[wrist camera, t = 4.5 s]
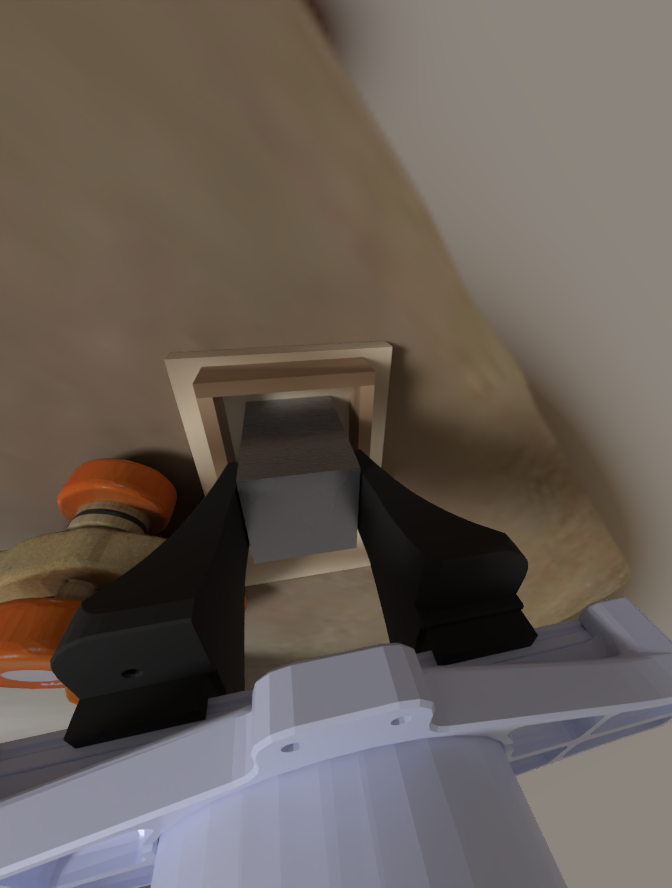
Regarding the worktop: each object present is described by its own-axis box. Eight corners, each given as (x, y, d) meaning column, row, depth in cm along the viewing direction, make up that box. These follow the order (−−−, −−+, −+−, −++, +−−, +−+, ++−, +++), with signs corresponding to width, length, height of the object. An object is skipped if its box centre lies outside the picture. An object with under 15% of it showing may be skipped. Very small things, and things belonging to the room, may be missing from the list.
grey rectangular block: (330, 461, 18) (356, 547, 13) (257, 470, 17) (254, 563, 12) (330, 395, 15) (360, 467, 10) (245, 401, 15) (235, 482, 10)
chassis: (368, 554, 24) (380, 589, 22) (233, 575, 23) (229, 616, 20) (385, 341, 16) (408, 359, 13) (169, 352, 14) (149, 376, 12)
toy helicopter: (140, 433, 14) (293, 551, 23) (-122, 552, 19) (90, 610, 28) (31, 646, 8) (291, 691, 18) (-302, 736, 13) (38, 734, 23)
